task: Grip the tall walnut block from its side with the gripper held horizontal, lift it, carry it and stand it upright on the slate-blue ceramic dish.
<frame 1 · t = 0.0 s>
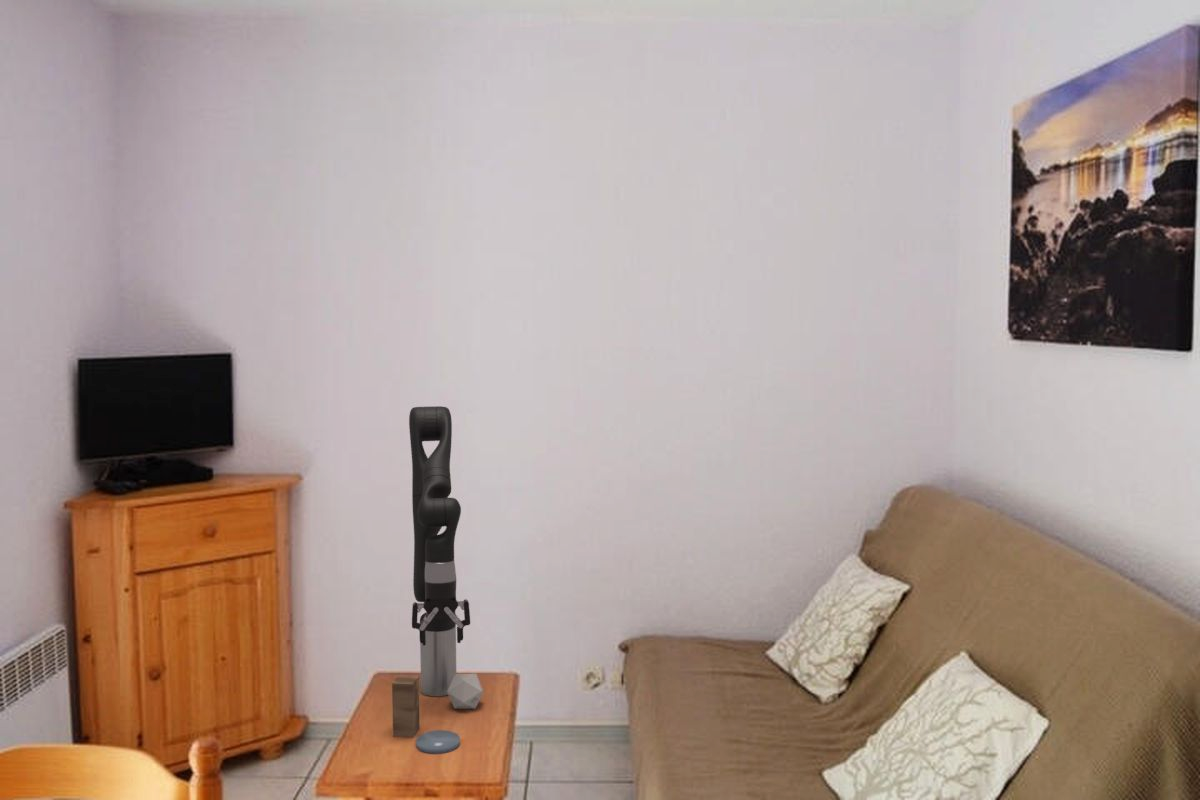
hand: (441, 643, 270), 17 cm above the table, tool pointing down, fingers open, 8 cm apart
walnut block: (406, 732, 259), on the table
die: (465, 707, 275), on the table
slate dish: (438, 744, 253), on the table
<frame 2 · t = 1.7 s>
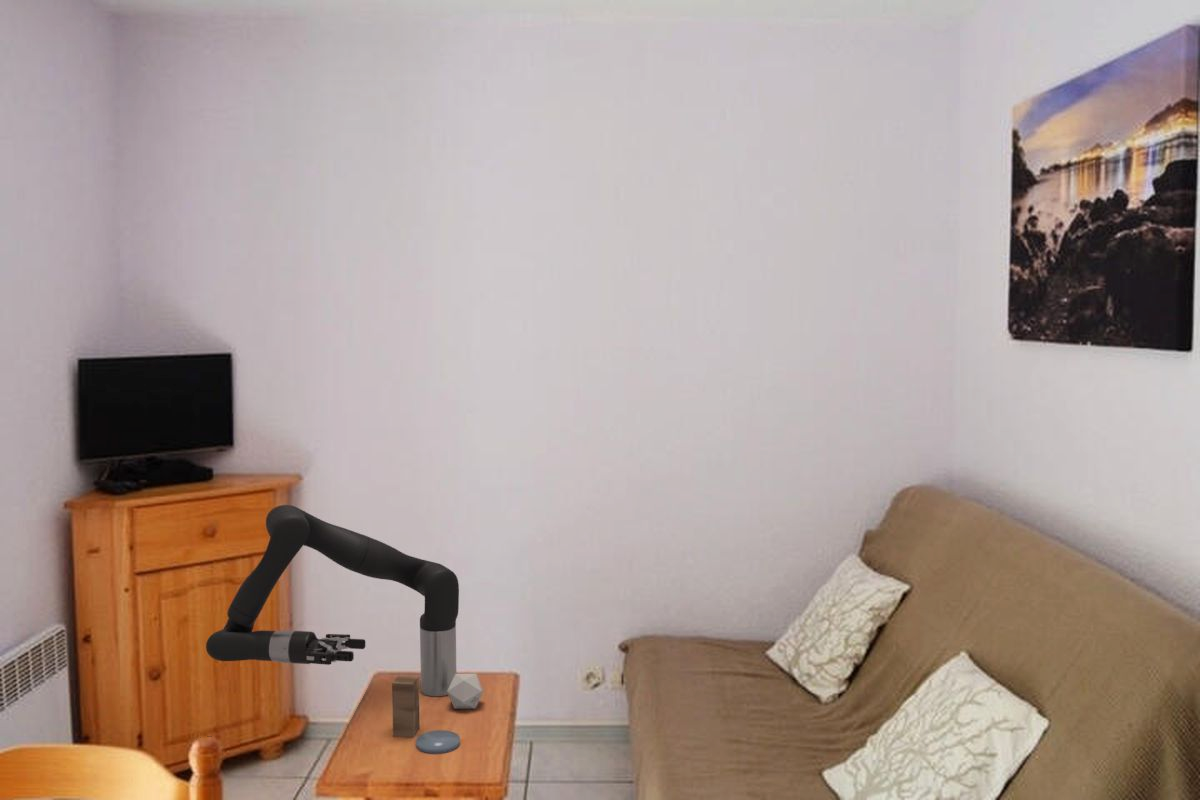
hand: (359, 650, 258), 20 cm above the table, tool horizontal, fingers open, 8 cm apart
nothing on the table moved.
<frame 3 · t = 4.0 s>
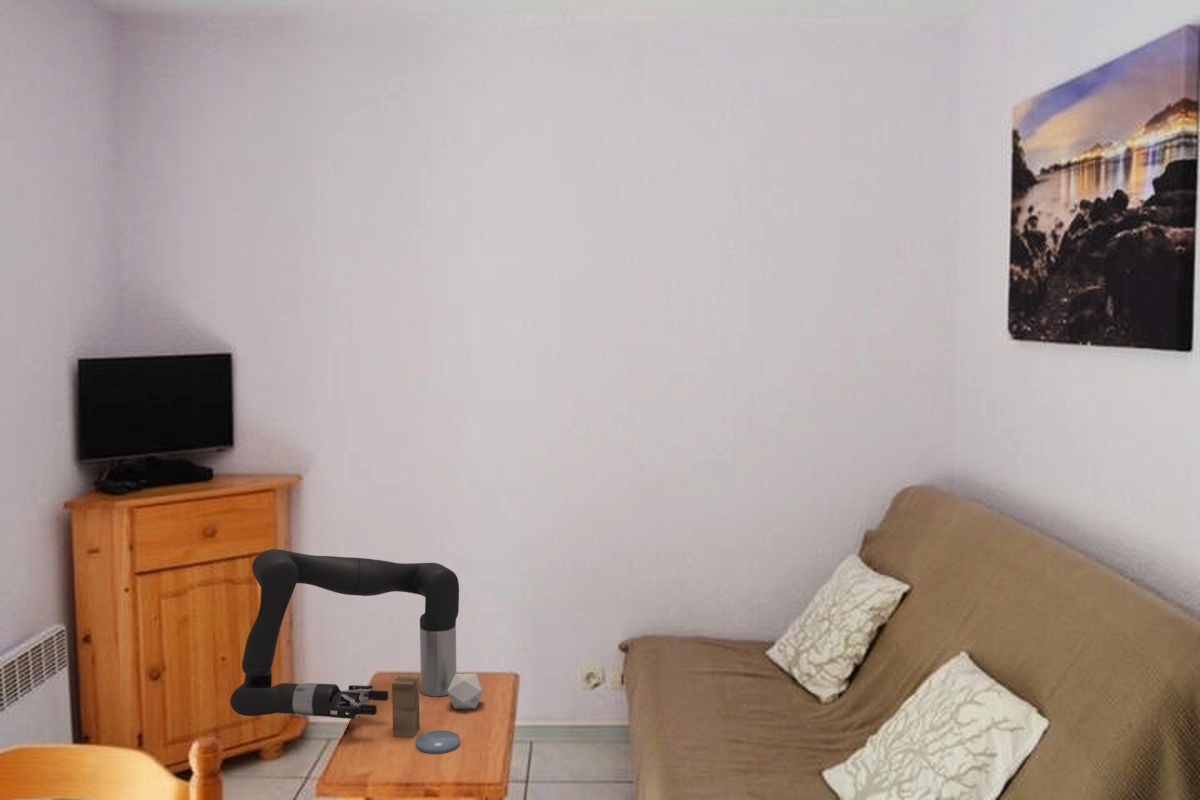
hand: (382, 702, 259), 7 cm above the table, tool horizontal, fingers open, 8 cm apart
nothing on the table moved.
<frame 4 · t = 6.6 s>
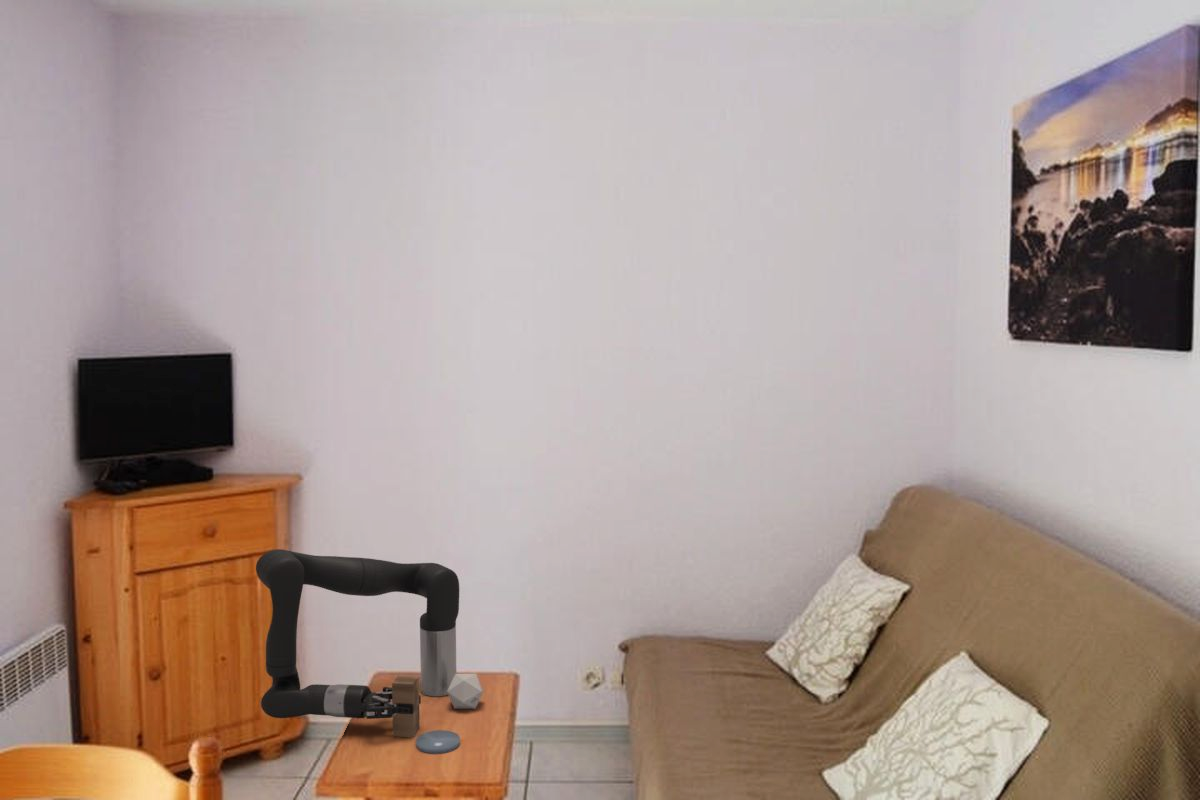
hand: (416, 704, 258), 7 cm above the table, tool horizontal, fingers closed on walnut block, 5 cm apart
walnut block: (406, 732, 259), on the table, touching gripper
everything else where it was.
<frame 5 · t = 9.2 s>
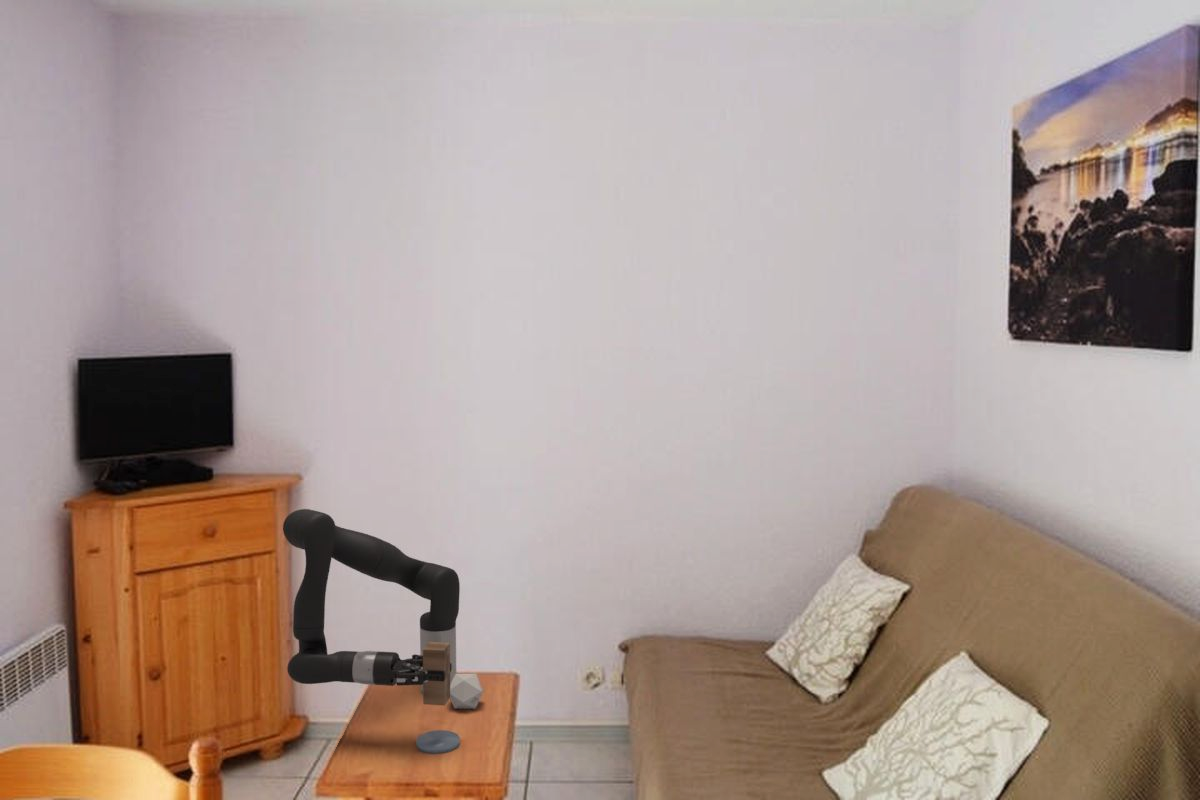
hand: (447, 671, 250), 18 cm above the table, tool horizontal, fingers closed on walnut block, 5 cm apart
walnut block: (436, 700, 251), point 11 cm above the table, touching gripper
everything else where it was.
when the fingers open (10 cm above the table, at t = 11.8 s): walnut block drops 1 cm, resting on slate dish.
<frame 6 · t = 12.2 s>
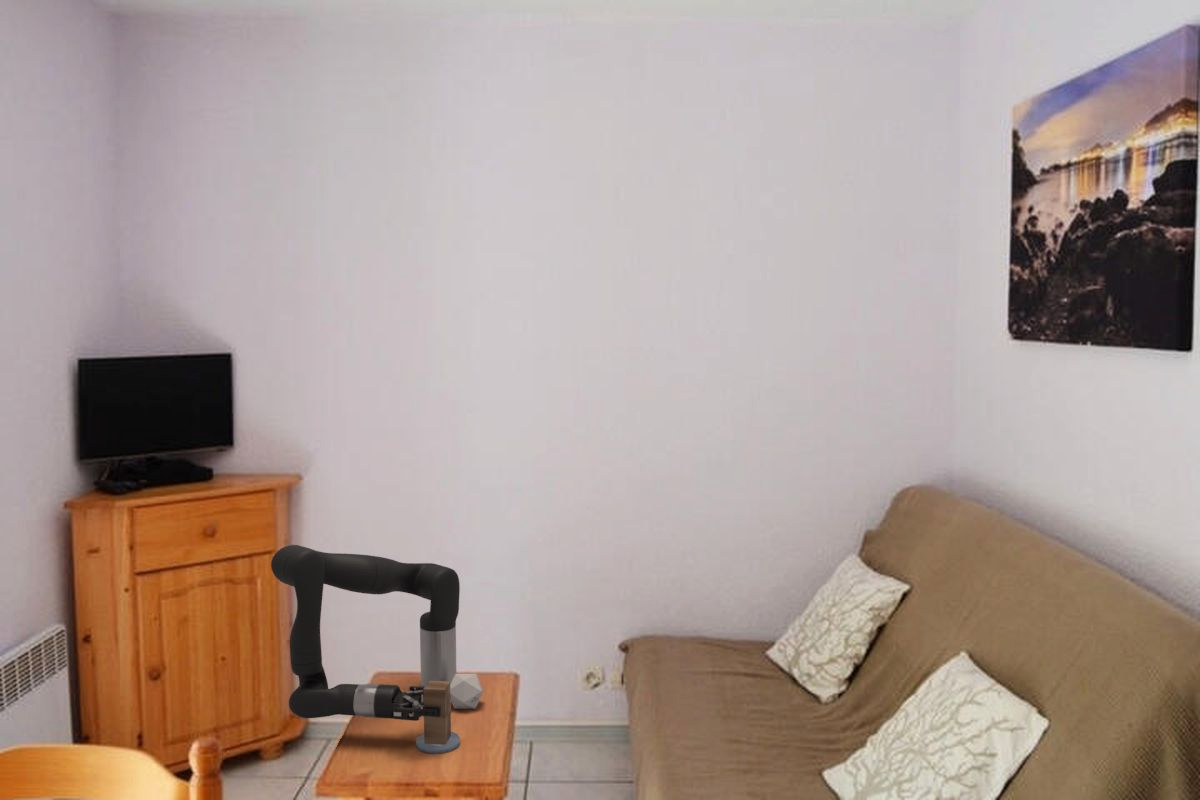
hand: (445, 704, 251), 10 cm above the table, tool horizontal, fingers open, 8 cm apart
walnut block: (437, 739, 252), point 1 cm above the table, touching slate dish
everything else where it was.
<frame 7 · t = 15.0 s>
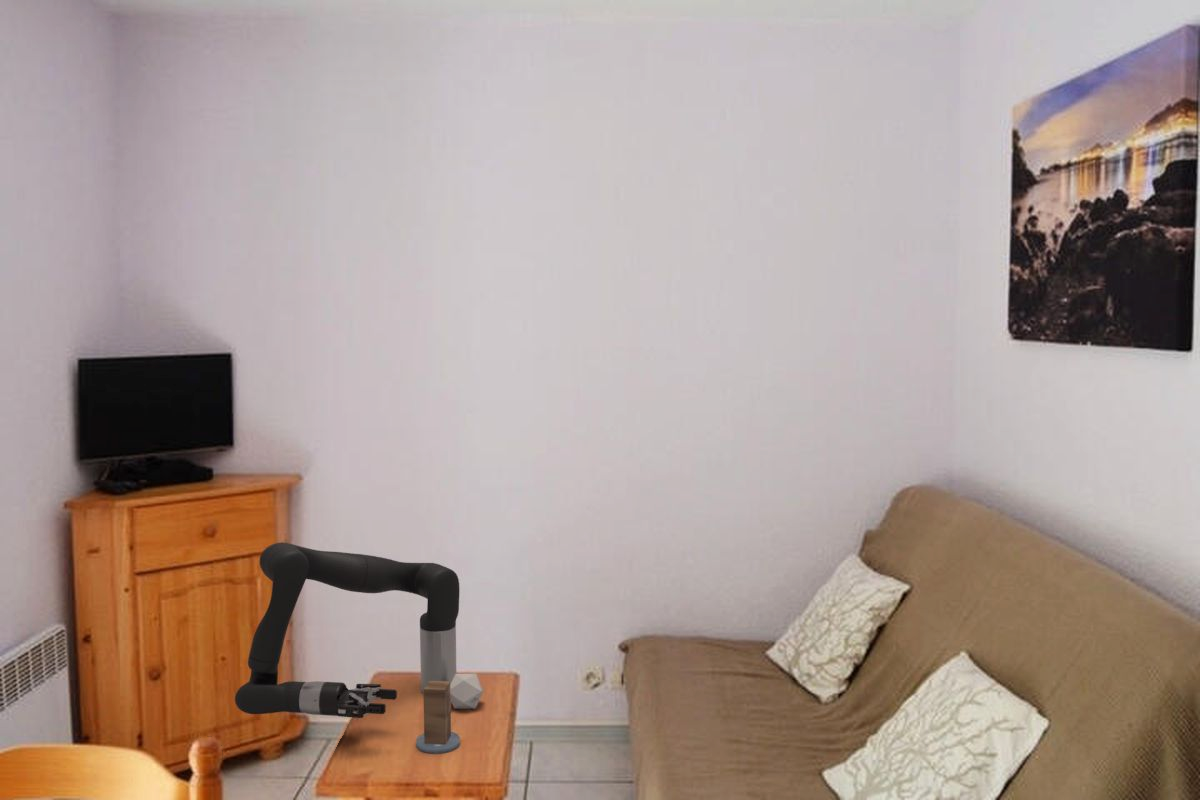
hand: (390, 701, 253), 10 cm above the table, tool horizontal, fingers open, 8 cm apart
nothing on the table moved.
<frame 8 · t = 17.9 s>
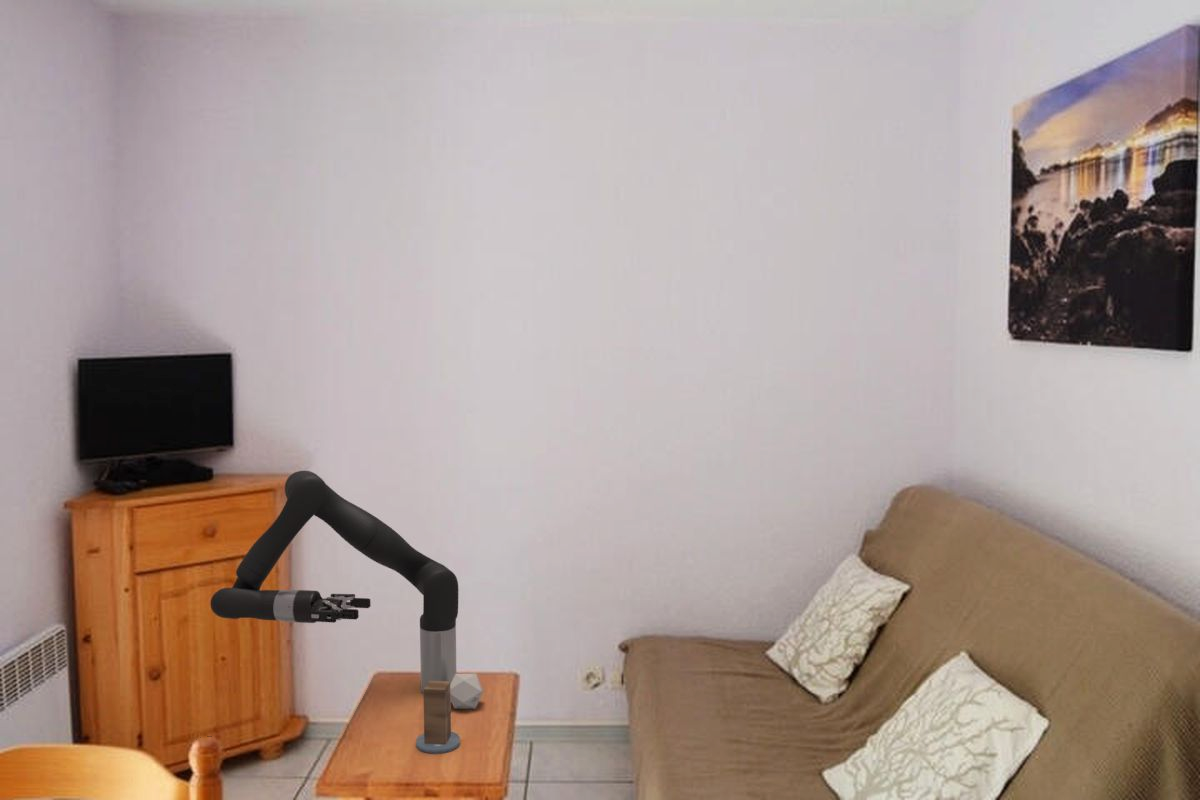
hand: (364, 608, 256), 30 cm above the table, tool horizontal, fingers open, 8 cm apart
nothing on the table moved.
at the end: walnut block inside the target area on the slate dish (0.1 cm from its centre), point 1.2 cm above the slate dish's base; walnut block tilted 0°; the gripper is holding nothing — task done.
